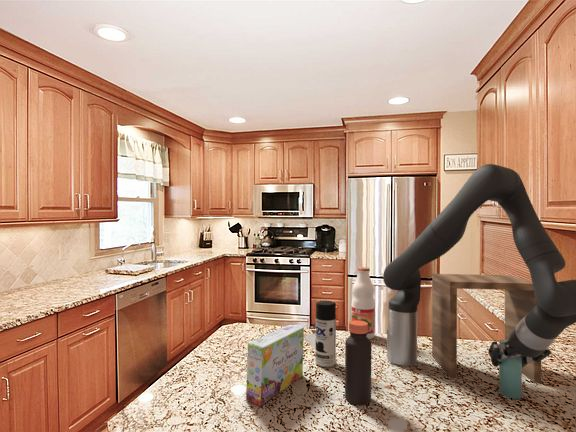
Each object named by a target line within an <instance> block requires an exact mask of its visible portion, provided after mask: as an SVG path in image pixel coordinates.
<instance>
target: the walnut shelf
mask: <svg viewBox="0 0 576 432" xmlns="http://www.w3.org/2000/svg"><path fill="white" fill-rule="evenodd" d="M431 275H432V277H431V278H432V279H431V280H432V281H431V282H432V283H431V284H432V288H431V289H432V295H431V299H432V303H431V304H432V306H431V308H432V309H431V311H432V312H431V313H432V314H431V316H432V317H431V318H432V320H431V321H432V323H431V326H432V328H431V329H432V330H431V331H432V332H431V333H432V334H431V343H432V344H431V347H432V349H431V358H432V357H433V358H434V359H435V360H434V359H433V358H432V359H433V360H434V362H435V361H436V362H437V363H438V364H439V365H440V366H441V367H440V366H439V365H438V364H437V363H436V362H435V363H436V364H437V365H438V366H439V367H440V369H441V368H442V369H443V370H444V371H445V372H446V373H445V372H444V371H443V370H442V369H441V370H442V371H443V372H444V373H445V375H446V374H447V375H448V376H449V377H450V378H449V377H448V376H447V375H446V376H447V377H448V378H449V379H451V378H457V377H458V376H457V375H458V367H457V366H458V365H457V364H458V360H457V359H458V356H457V355H458V351H457V350H458V347H457V346H458V289H463V290H464V289H465V290H466V289H467V290H501V291H502V290H503V291H504V340H509V335H510V333H511V332H512V330H513V329H514V328H515V327H516V326H517V324H518V323H519V322H520V321H521V320H522V319H523V318H524V317H525V316H526V315H527V314H528V313H529V312H530V311H531V309H532V308H533V307H534V306H535V305H537V304H538V302H537V299H536V296H535V291H534V287H533V283H532V280H530V279H529V280H528V279H525V278H521V277H518V276H513V275H504V274H503V275H502V274H463V273H462V274H459V273H457V274H456V273H432V274H431ZM522 375H524V376H525V377H526V378H528V379H529V380H530V381H532V383H539V384H541V383H542V360H541V361H540V362H535V360H534V361H532V362H531V363H528V364H527V365H526V366H524V367H523V368H522ZM457 379H458V378H457Z"/></svg>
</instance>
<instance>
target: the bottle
mask: <svg viewBox="0 0 576 432" xmlns="http://www.w3.org/2000/svg"><path fill="white" fill-rule="evenodd" d="M348 332H349V334H350V335H349V336H348V337H347V338H346V340H345V342H344V345H345V350H344V351H345V353H344V354H345V355H344V356H345V357H344V358H345V359H344V360H345V361H344V362H345V364H344V369H345V370H344V397H345V400H346V401H347V402H349V403H350V404H353V405H356V406H357V405H358V406H365V405H368V404H369V403H371V400H372V347H373V345H372V341H371V339H368V338H367V334H368V323H367V322H364V321H359V320H354V321H349V322H348Z"/></svg>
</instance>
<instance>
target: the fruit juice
mask: <svg viewBox="0 0 576 432" xmlns="http://www.w3.org/2000/svg"><path fill="white" fill-rule="evenodd" d="M351 291H352V299H351V321H354V320H359V321H364V322H367V323H368V334H367V338H368V339H369V340H372V339H374V338H375V335H376V302H375V301H376V300H375V298H374V295H375V292H376V290H375V286H374V284H373V282H372V279H371V276H370V267H368V266H367V267H366V266H359V267H357V276H356V279H355V281H354V283H353V285H352V287H351Z"/></svg>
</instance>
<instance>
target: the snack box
mask: <svg viewBox="0 0 576 432" xmlns="http://www.w3.org/2000/svg"><path fill="white" fill-rule="evenodd" d="M304 332H305V327H304V326H300V325H299V326H298V325H294V324H288V325H286V326H284V327H281V328H279V329H277V330H275V331H273V332H271V333H268V334H266V335H264V336H262V337H259V338H257V339H256V340H253V341H251V342H249V343H247V360H246V361H247V362H246V363H247V364H246V391H245V392H246V393H245V394H246V395H245V400H246V401H248V402H250V403H252V404H255V405H256V406H257V405H258V406H260V407H261V406H263V405H264V404H266V403H267V402H268V401H270V400H271V399H273V398H274V397H275V396H277V395H279V394H280V393H281V392H283V391H284V390H286V389H287V388H288V387H289V386H290V385H292V384H294V383H295V382H296V381H297V380H299V379H300V378H302V377H303V372H304V371H303V370H304V369H303V365H304V339H305V338H304V336H305V333H304Z"/></svg>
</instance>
